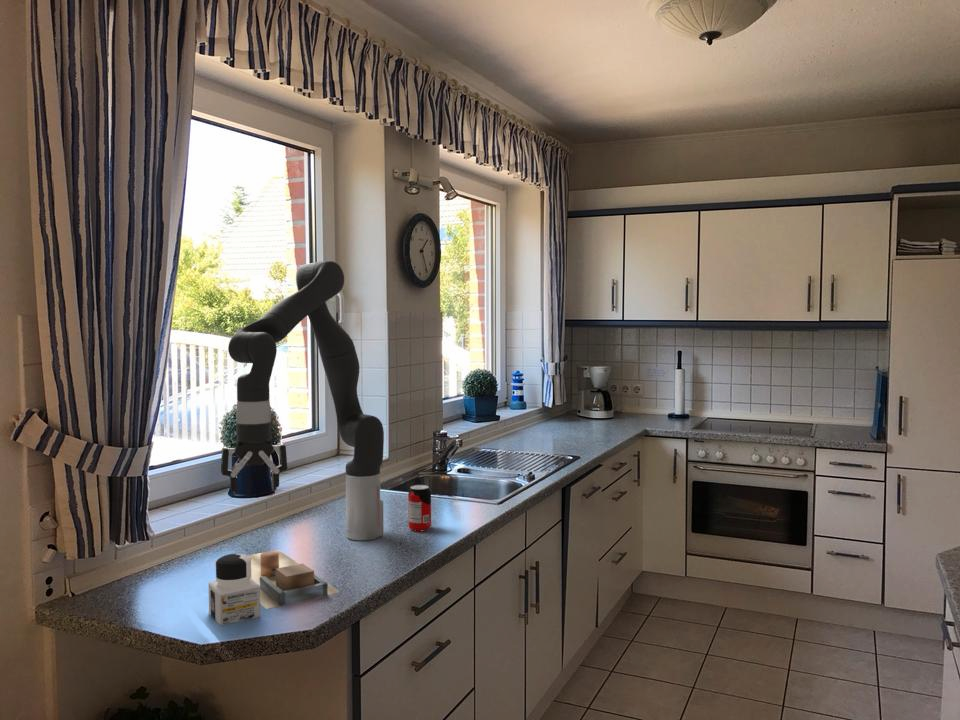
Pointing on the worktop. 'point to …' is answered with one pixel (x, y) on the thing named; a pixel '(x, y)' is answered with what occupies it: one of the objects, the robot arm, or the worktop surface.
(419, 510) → the beverage can
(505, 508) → the worktop surface
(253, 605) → the container
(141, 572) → the worktop surface
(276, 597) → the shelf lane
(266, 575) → the wooden joystick
